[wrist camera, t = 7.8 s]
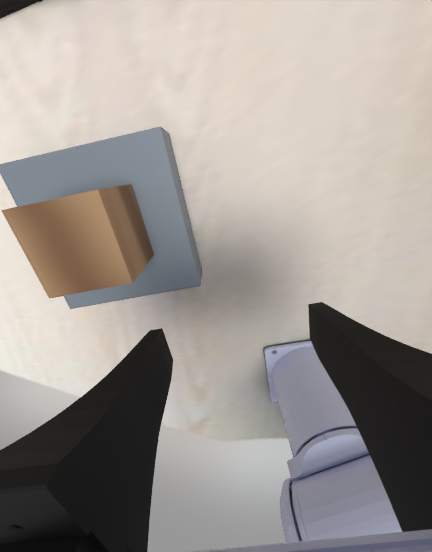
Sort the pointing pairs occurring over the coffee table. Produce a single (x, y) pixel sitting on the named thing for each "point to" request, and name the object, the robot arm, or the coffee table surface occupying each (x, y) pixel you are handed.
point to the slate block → (149, 193)
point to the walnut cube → (83, 240)
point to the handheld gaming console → (14, 6)
